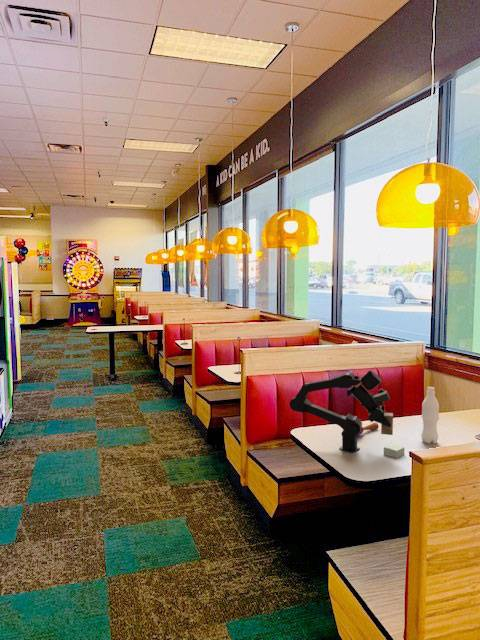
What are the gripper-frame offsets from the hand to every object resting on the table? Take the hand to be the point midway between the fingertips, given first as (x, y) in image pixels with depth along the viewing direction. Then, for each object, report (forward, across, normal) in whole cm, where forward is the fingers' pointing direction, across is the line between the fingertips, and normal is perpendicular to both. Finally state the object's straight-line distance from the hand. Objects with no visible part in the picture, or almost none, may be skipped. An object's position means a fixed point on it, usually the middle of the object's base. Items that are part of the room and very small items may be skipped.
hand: (390, 424), depth 202 cm
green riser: (+10, 0, +8) cm, 13 cm away
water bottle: (+21, +20, -3) cm, 29 cm away
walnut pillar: (+2, 0, +4) cm, 4 cm away
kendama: (0, +24, +18) cm, 30 cm away
